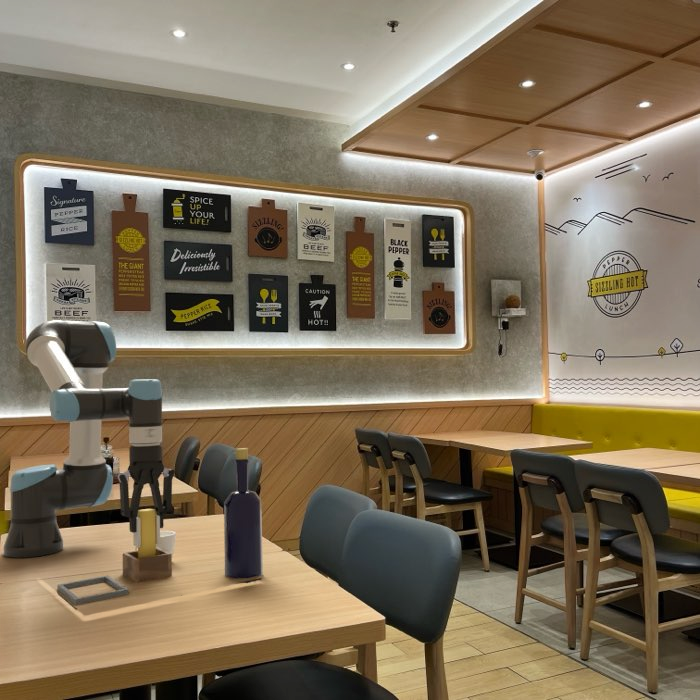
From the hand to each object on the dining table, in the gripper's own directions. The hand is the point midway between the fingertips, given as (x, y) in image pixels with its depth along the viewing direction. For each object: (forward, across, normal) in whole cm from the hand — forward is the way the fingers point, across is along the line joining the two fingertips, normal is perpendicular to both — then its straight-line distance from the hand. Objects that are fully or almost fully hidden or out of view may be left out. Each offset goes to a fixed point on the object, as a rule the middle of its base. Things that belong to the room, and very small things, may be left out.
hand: (146, 544), depth 164 cm
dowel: (+7, 0, 0) cm, 7 cm away
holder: (+8, 0, 0) cm, 8 cm away
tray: (+8, -14, -5) cm, 17 cm away
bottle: (+8, +18, -14) cm, 24 cm away
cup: (+8, +6, +10) cm, 14 cm away
